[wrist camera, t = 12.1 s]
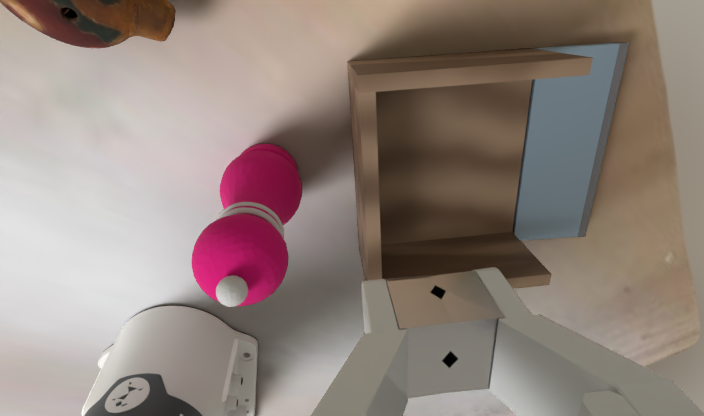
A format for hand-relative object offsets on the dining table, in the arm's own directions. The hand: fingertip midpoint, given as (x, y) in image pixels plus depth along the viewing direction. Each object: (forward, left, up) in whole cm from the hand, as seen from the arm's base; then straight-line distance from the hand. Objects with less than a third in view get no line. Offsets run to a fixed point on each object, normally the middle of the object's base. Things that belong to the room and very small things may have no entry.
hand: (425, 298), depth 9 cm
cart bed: (-8, -9, -31) cm, 33 cm away
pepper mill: (-8, +8, -31) cm, 33 cm away
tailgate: (-8, -18, -30) cm, 36 cm away
